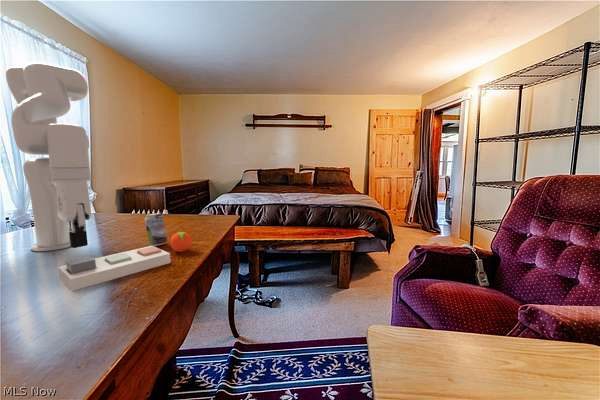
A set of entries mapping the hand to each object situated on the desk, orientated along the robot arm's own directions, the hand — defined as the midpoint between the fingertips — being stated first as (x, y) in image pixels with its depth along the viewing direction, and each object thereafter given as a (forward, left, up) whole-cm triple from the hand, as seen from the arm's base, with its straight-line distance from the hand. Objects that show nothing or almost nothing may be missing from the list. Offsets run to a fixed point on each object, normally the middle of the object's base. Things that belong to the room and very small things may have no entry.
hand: (79, 246), depth 70 cm
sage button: (0, +8, -8) cm, 12 cm away
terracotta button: (0, +17, -8) cm, 19 cm away
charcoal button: (0, 0, -7) cm, 7 cm away
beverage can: (-15, +26, -9) cm, 32 cm away
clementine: (-1, +28, -9) cm, 30 cm away
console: (0, +9, -9) cm, 12 cm away
